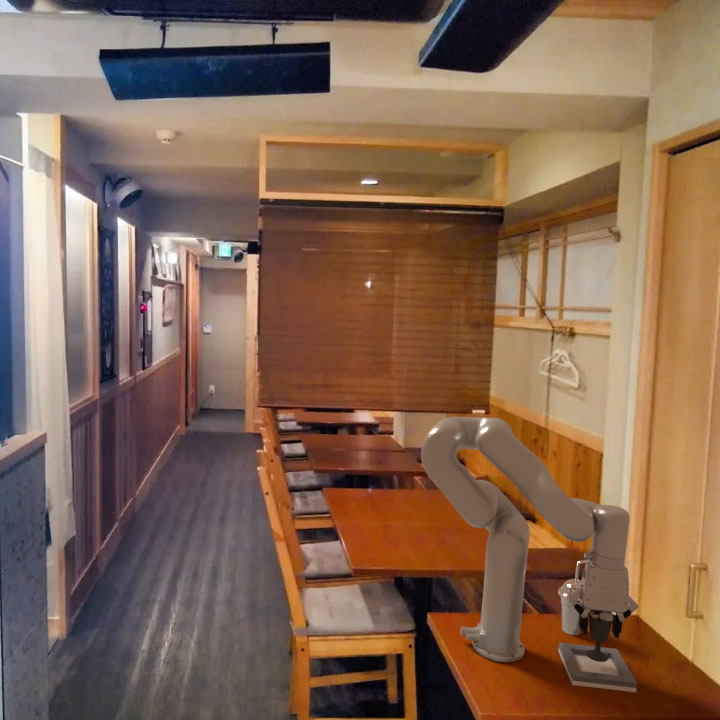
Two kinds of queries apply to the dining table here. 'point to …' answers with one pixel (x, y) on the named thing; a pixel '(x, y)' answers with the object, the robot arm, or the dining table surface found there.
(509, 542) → the robot arm
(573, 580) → the cup with straw
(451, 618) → the dining table surface
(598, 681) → the square picture frame
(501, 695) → the dining table surface
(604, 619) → the sundae
